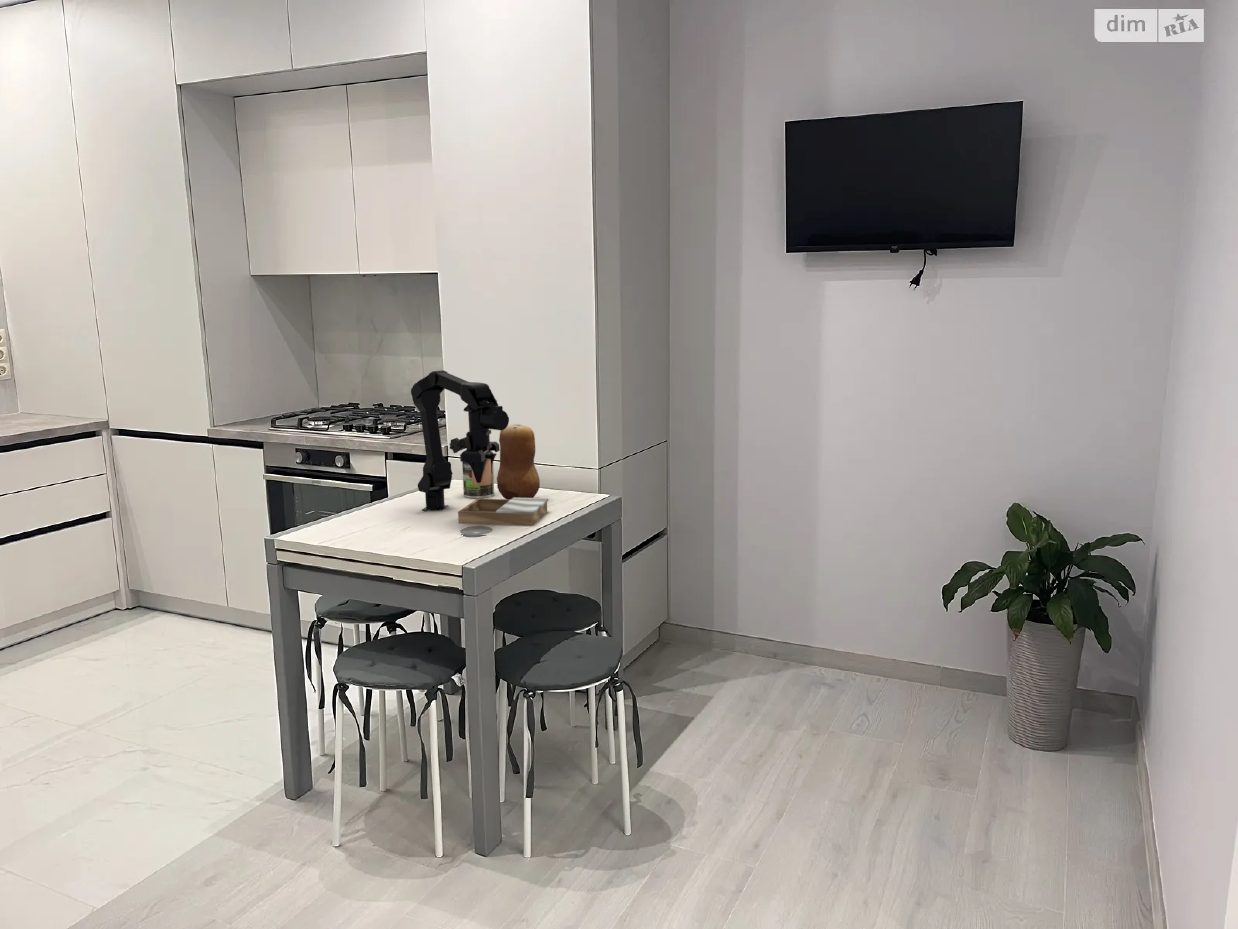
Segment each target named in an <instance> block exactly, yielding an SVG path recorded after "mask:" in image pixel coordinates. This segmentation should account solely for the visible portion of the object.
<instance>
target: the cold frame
mask: <svg viewBox="0 0 1238 929" xmlns="http://www.w3.org/2000/svg"><path fill="white" fill-rule="evenodd" d="M548 501H550V500H549V498H547V497H546V498H545V497H542V498H540V497H534V498H512V499H505V498H475V499H474V500H473V501H472V502H470V503H469V504H467V505H466V506H464V507H463V508H461V509H460V510H458V511H457V517H458V518H457V520H458V524H466V525H467V524H469V525H470V524H471V525H495V526H496V525H497V526H498V525H499V526H501V525H502V526H503V525H504V526H505V525H506V526H507V525H508V526H527V527H528V526H529V527H531V526H533V525H534V524H535V523H536V522H538V521H539V520H540V519H541V518H542V517H543V516H544V515H546V513H548Z"/></svg>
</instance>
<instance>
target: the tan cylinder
mask: <svg viewBox="0 0 1238 929" xmlns="http://www.w3.org/2000/svg"><path fill="white" fill-rule="evenodd" d="M485 459H487V458H485ZM472 483H473V485H476V486H484V485H490V484H492V475H491V459H487V461H486V465H485V469H484V473H483V476H482V480H481V482H480V483H477V482H476V479H475V476H474V473H473V471H472Z"/></svg>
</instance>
